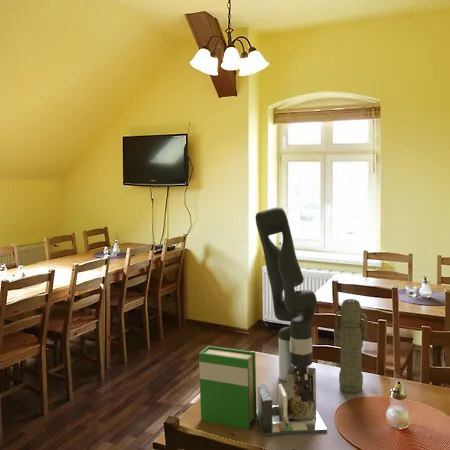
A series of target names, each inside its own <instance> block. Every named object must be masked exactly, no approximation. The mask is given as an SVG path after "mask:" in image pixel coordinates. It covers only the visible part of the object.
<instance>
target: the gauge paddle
mask: <svg viewBox="0 0 450 450" xmlns="http://www.w3.org/2000/svg"><path fill="white" fill-rule="evenodd" d="M277 386H278V387H277V389H278V390H277V393H278V405H279V414H280V417H281V419H282V421H286V427H288V420H287V405H288V397H287V393H286V391H285V388H284V387H283V384H282V383H279V384H277Z"/></svg>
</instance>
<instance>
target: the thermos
mask: <svg viewBox="0 0 450 450" xmlns="http://www.w3.org/2000/svg"><path fill="white" fill-rule="evenodd" d="M338 316H340V321H341V323H340V327H339V331H338ZM334 317H335V321H334V322H335V325H334V326H335V327H334V329H335V330H334V331H335V332H334V333H335V334H334V335H335V338H336V339H337V340H338V341H339V342H338V344H339V345H338V346H339V348H340V370H339V373H338V383H339V390H340V391H341V392H342V393H345V394H348V395H357V394H361V393H362V392H363V385H364V376H363V372H362V371H363V370H362V364H363V363H362V361H363V360H362V349H363V347H364V342H366V340H367V339H368V316H367V315H366V313H364V312H362V306H361V303H360V301H359V300H357V299H353V298H347V299H344V300H342V303H341V306H340V311H339V310H338V311H337V312H336V313H335V315H334ZM362 318H363V319H364V321H363V322H364V324H363V325H364V327H363V328H364V331H363V329H362ZM338 333H339V334H338Z"/></svg>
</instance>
